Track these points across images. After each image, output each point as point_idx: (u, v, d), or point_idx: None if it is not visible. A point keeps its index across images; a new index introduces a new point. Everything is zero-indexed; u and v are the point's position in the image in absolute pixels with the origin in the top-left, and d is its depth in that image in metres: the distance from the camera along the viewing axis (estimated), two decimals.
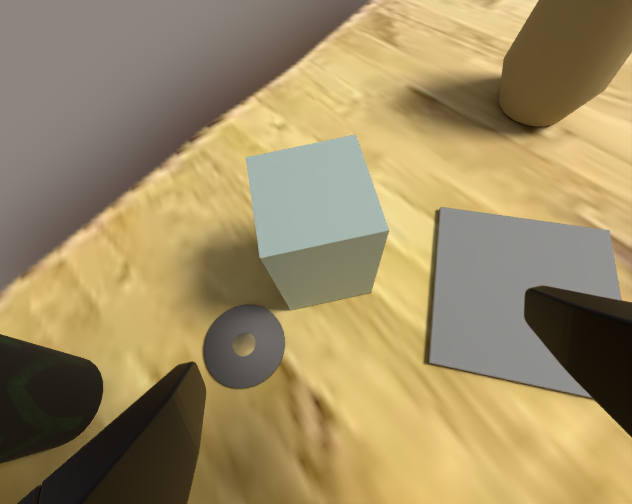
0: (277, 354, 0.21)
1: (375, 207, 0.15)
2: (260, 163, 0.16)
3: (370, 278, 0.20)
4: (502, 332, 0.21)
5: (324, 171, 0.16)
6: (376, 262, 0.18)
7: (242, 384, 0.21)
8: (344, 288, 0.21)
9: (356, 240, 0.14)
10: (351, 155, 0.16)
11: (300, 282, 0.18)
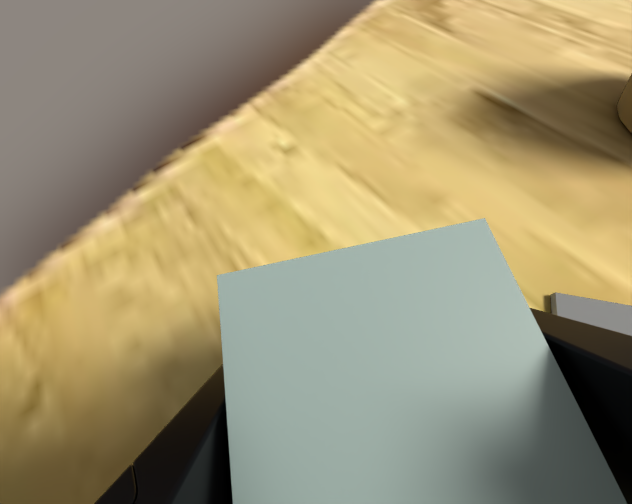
0: None
1: (594, 471, 0.05)
2: (253, 293, 0.07)
3: None
4: None
5: (420, 327, 0.06)
6: None
7: None
8: None
9: None
10: (486, 279, 0.06)
11: None
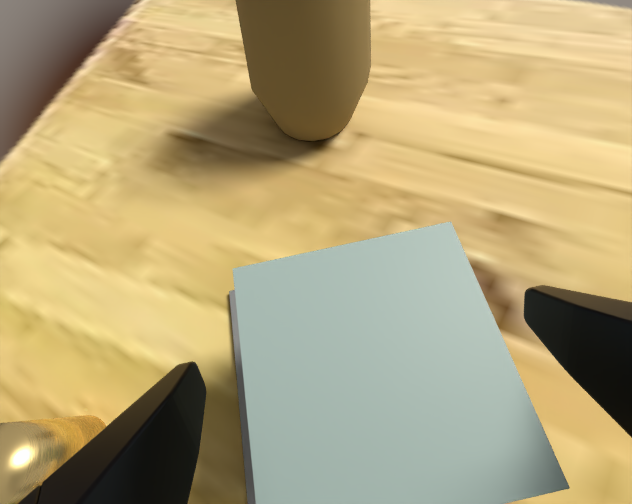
0: None
1: (524, 414, 0.07)
2: (263, 283, 0.08)
3: None
4: None
5: (396, 309, 0.08)
6: None
7: None
8: None
9: None
10: (449, 271, 0.08)
11: None
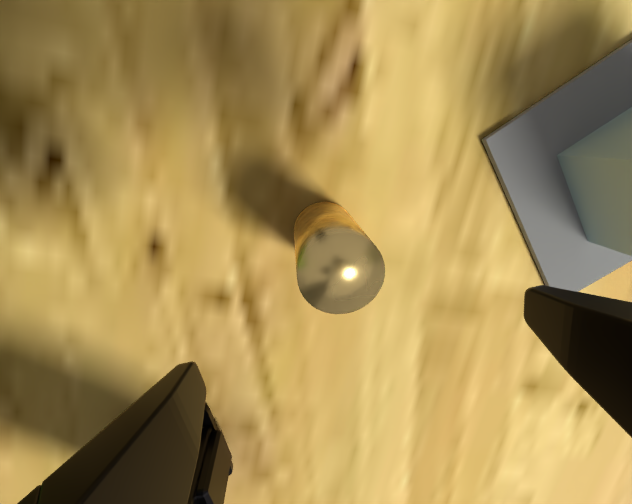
0: None
1: None
2: None
3: None
4: (562, 179, 0.17)
5: None
6: None
7: None
8: (618, 225, 0.16)
9: None
10: None
11: None
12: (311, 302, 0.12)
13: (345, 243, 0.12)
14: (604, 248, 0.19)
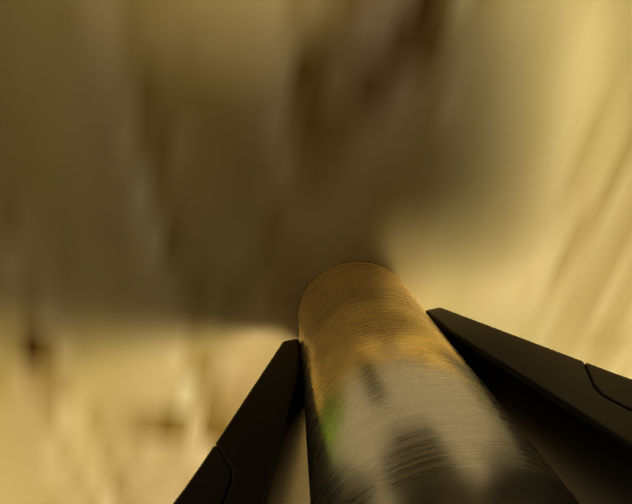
0: None
1: None
2: None
3: None
4: None
5: None
6: None
7: None
8: None
9: None
10: None
11: None
12: None
13: (478, 492, 0.03)
14: None
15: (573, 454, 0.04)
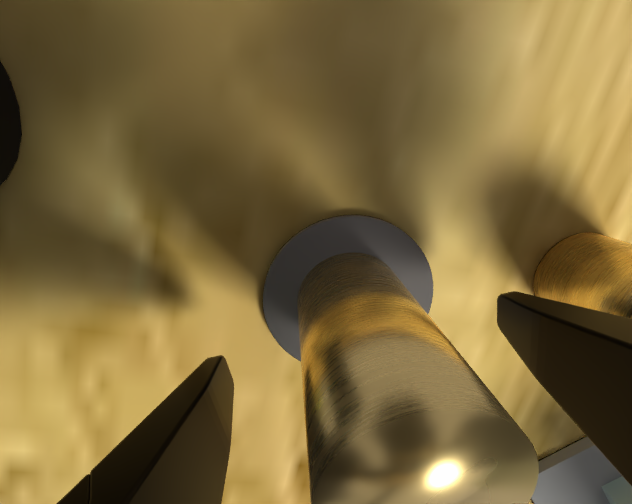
0: None
1: None
2: None
3: None
4: (605, 503, 0.15)
5: None
6: None
7: (299, 354, 0.11)
8: None
9: None
10: None
11: None
12: None
13: (446, 433, 0.04)
14: None
15: None
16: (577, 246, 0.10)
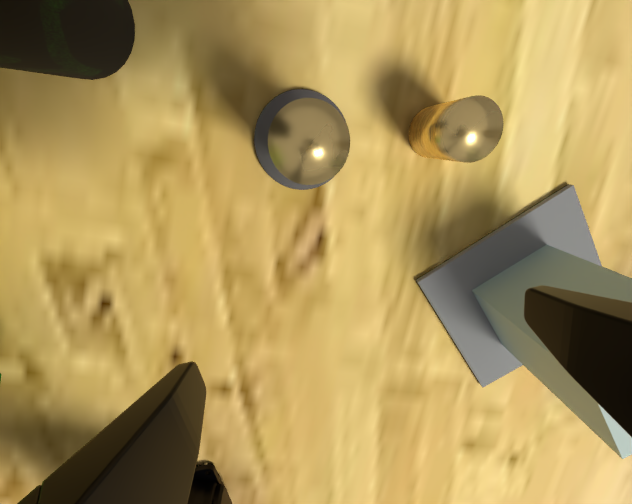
0: None
1: None
2: None
3: (530, 370, 0.22)
4: (477, 305, 0.23)
5: None
6: (561, 400, 0.19)
7: (275, 176, 0.19)
8: (513, 346, 0.22)
9: (608, 436, 0.16)
10: None
11: (531, 347, 0.18)
12: (282, 171, 0.13)
13: (312, 109, 0.12)
14: None
15: None
16: (425, 109, 0.18)
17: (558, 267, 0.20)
